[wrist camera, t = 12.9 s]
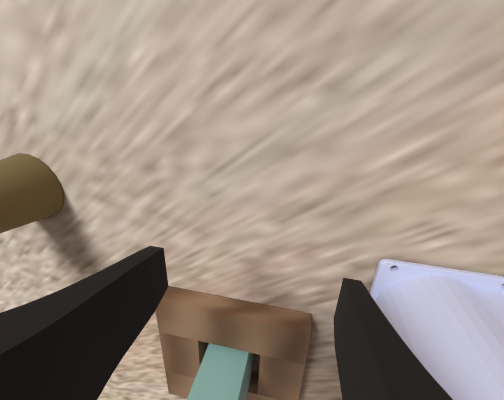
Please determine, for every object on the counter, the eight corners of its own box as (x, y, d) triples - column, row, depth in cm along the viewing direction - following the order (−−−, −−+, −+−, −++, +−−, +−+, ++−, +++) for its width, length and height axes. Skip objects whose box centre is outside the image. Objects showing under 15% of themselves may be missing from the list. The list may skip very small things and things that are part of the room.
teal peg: (252, 336, 25) (233, 419, 19) (253, 363, 27) (236, 447, 20) (214, 330, 26) (183, 407, 20) (217, 356, 28) (190, 435, 21)
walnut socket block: (311, 313, 22) (311, 333, 21) (294, 405, 28) (293, 426, 26) (165, 285, 25) (154, 301, 23) (177, 375, 30) (168, 393, 29)
